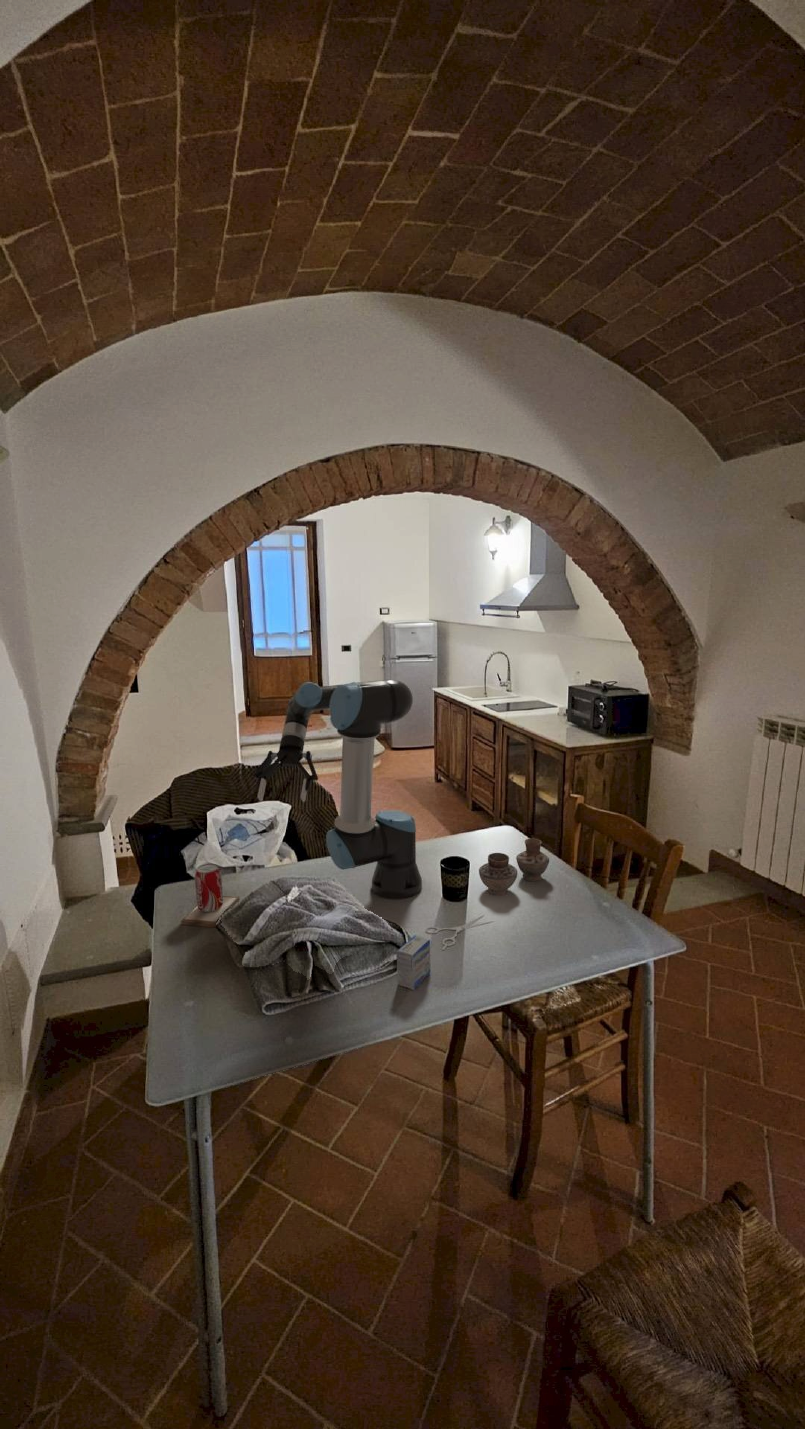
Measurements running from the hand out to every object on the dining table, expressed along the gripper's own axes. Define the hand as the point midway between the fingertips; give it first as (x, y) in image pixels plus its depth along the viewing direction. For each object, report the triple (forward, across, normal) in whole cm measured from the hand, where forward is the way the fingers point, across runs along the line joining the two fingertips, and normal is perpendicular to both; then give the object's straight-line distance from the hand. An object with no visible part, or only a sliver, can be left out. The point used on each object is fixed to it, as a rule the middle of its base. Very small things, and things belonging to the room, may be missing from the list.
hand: (281, 799), depth 190 cm
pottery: (+16, -70, -22) cm, 75 cm away
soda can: (+33, +15, -2) cm, 36 cm away
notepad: (+34, +15, -2) cm, 37 cm away
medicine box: (+52, -46, +14) cm, 70 cm away
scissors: (+36, -55, -3) cm, 66 cm away
